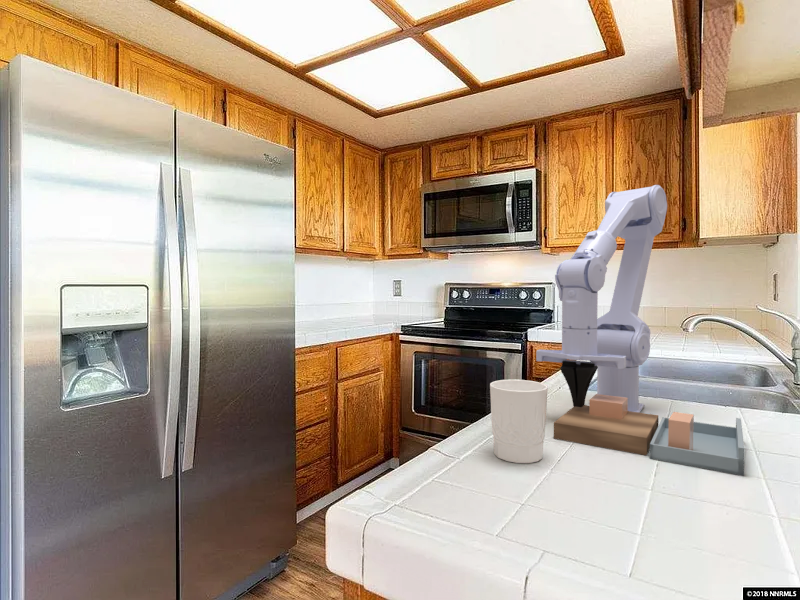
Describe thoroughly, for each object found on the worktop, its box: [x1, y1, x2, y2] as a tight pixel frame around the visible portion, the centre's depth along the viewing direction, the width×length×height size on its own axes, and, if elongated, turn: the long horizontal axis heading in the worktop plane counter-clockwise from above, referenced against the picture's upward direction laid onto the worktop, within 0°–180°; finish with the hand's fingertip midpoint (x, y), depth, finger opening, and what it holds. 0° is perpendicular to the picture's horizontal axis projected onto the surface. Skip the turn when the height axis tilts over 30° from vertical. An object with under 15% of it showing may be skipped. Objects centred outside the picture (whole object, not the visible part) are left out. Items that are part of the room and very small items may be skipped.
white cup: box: [489, 379, 549, 464], centre depth 66 cm, size 8×8×10 cm
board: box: [553, 404, 659, 456], centre depth 75 cm, size 14×13×2 cm
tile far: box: [588, 393, 628, 419], centre depth 78 cm, size 5×5×2 cm
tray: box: [649, 417, 745, 477], centre depth 68 cm, size 16×10×4 cm, turn 145°
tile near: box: [668, 411, 695, 450], centre depth 65 cm, size 5×5×2 cm
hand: (578, 405), depth 81 cm, fingers closed
